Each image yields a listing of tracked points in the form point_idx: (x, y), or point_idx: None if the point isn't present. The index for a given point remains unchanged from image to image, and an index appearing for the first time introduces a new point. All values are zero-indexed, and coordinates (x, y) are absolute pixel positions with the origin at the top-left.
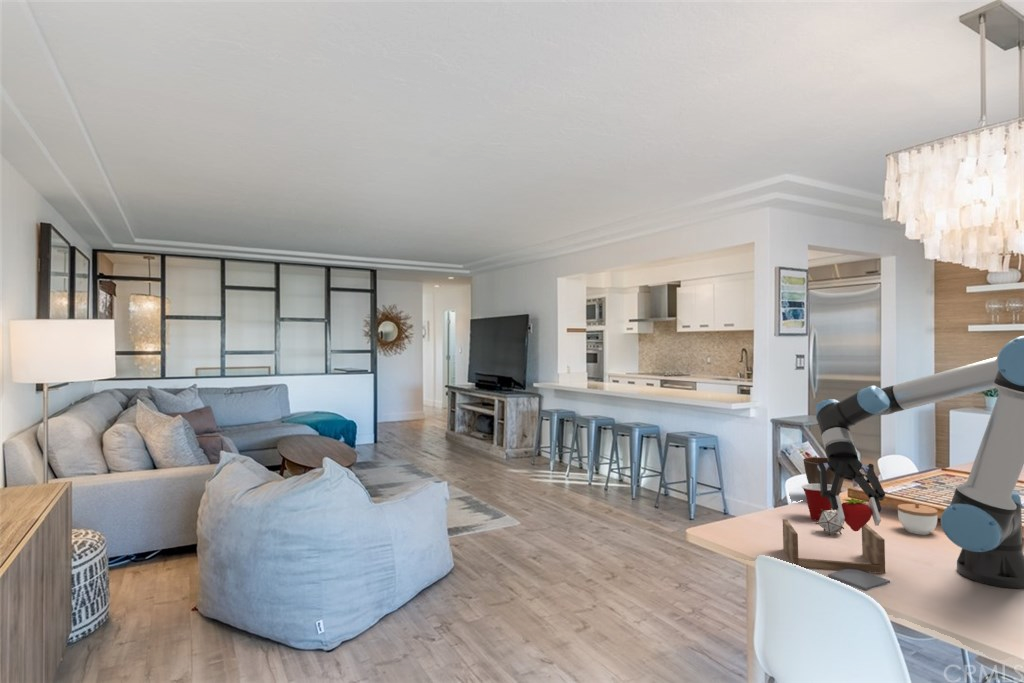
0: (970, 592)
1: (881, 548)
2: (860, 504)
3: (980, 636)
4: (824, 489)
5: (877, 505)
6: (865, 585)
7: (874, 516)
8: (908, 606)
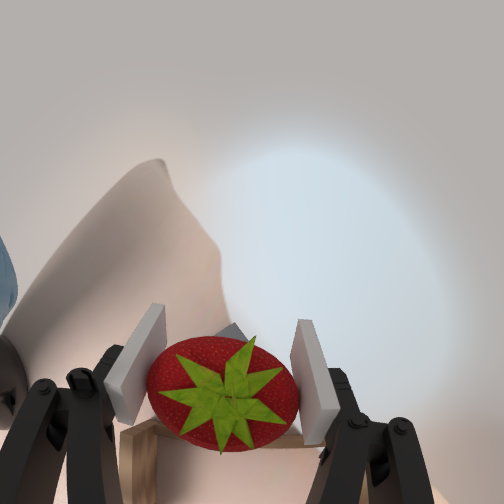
0: (54, 325)
1: (137, 430)
2: (203, 366)
3: (151, 182)
4: (405, 435)
5: (113, 362)
6: (229, 336)
7: (157, 343)
8: (189, 260)
